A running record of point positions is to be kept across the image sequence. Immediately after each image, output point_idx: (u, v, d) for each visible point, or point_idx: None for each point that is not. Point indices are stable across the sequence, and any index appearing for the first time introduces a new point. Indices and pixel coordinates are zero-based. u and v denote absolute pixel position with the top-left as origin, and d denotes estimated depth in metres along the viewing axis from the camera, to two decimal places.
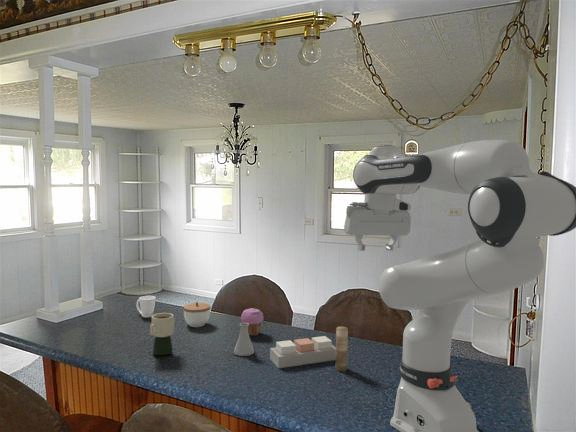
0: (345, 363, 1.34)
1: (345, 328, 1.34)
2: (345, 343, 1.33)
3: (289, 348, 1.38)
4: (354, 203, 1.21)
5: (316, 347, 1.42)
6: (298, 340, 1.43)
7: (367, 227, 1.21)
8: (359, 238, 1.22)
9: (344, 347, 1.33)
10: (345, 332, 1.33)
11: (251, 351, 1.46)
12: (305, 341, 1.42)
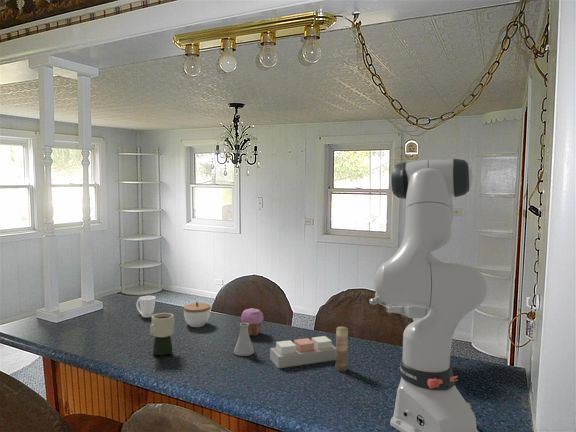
0: (345, 363, 1.34)
1: (345, 328, 1.34)
2: (345, 343, 1.33)
3: (289, 348, 1.38)
4: None
5: (316, 347, 1.42)
6: (298, 340, 1.43)
7: None
8: (377, 296, 1.46)
9: (344, 347, 1.33)
10: (345, 332, 1.33)
11: (251, 351, 1.46)
12: (305, 341, 1.42)
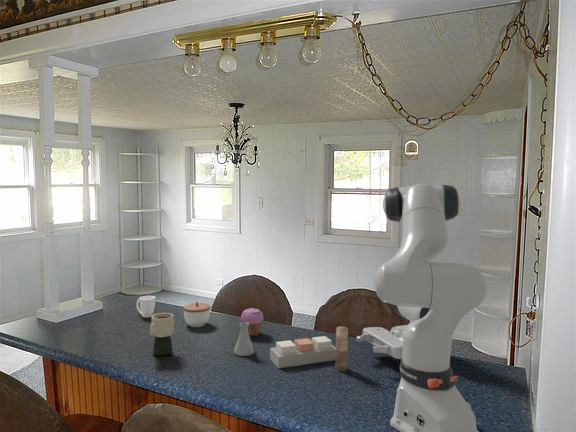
0: (345, 363, 1.34)
1: (345, 328, 1.34)
2: (345, 343, 1.33)
3: (289, 348, 1.38)
4: None
5: (316, 347, 1.42)
6: (298, 340, 1.43)
7: (376, 332, 1.45)
8: (364, 333, 1.45)
9: (344, 347, 1.33)
10: (345, 332, 1.33)
11: (251, 350, 1.46)
12: (305, 341, 1.42)
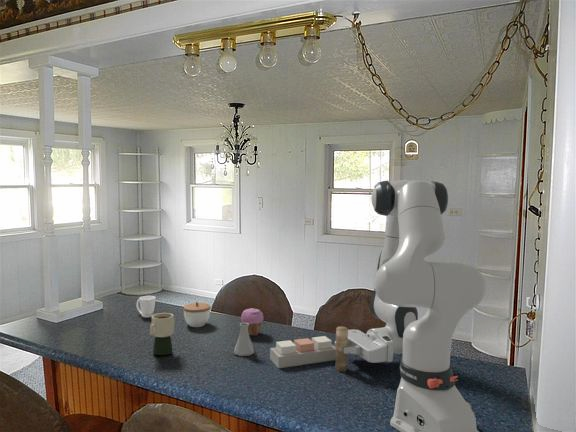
0: (345, 363, 1.34)
1: (345, 328, 1.34)
2: (345, 343, 1.33)
3: (289, 348, 1.38)
4: None
5: (316, 347, 1.42)
6: (298, 340, 1.43)
7: (352, 334, 1.41)
8: None
9: None
10: (345, 332, 1.33)
11: (251, 350, 1.46)
12: (305, 341, 1.42)
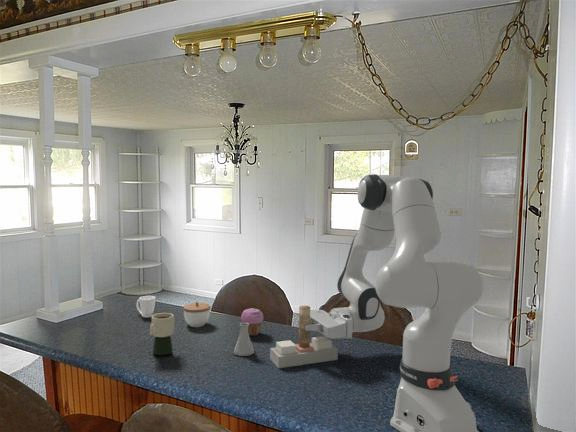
0: (307, 340, 1.41)
1: (307, 307, 1.41)
2: (307, 321, 1.40)
3: (289, 348, 1.38)
4: None
5: (316, 347, 1.42)
6: (298, 345, 1.43)
7: (315, 314, 1.48)
8: None
9: None
10: (307, 310, 1.40)
11: (251, 350, 1.46)
12: None
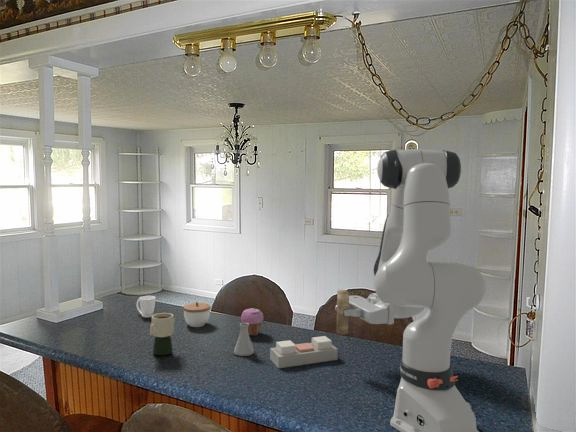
0: (346, 326, 1.33)
1: (346, 291, 1.34)
2: (346, 306, 1.33)
3: (289, 348, 1.38)
4: None
5: (316, 347, 1.42)
6: (298, 345, 1.43)
7: (352, 299, 1.41)
8: None
9: None
10: (346, 295, 1.32)
11: (251, 350, 1.46)
12: (305, 346, 1.43)
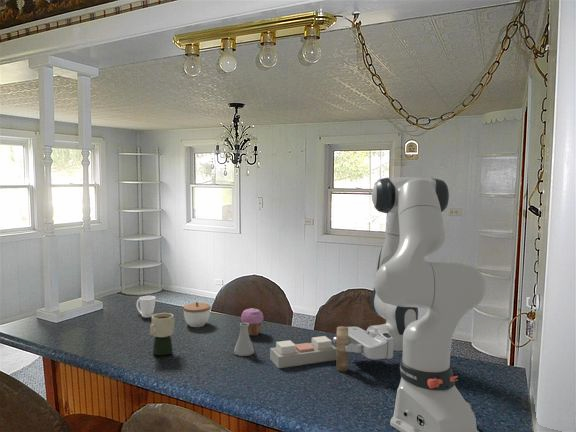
0: (346, 363, 1.34)
1: (345, 328, 1.34)
2: (345, 343, 1.33)
3: (289, 348, 1.38)
4: None
5: (316, 347, 1.42)
6: (298, 345, 1.43)
7: (352, 331, 1.41)
8: None
9: None
10: (345, 332, 1.33)
11: (251, 350, 1.46)
12: (305, 346, 1.43)
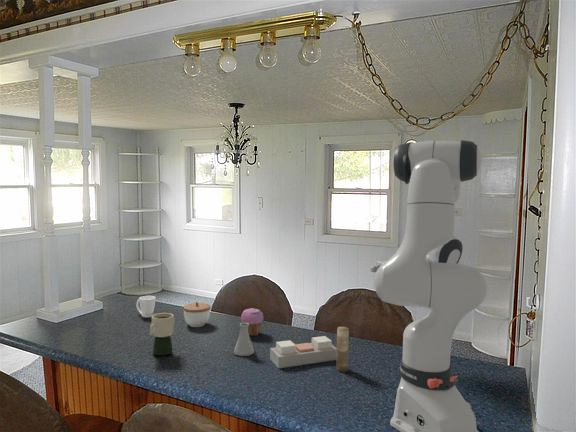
0: (346, 363, 1.34)
1: (346, 328, 1.34)
2: (346, 343, 1.33)
3: (289, 348, 1.38)
4: None
5: (316, 347, 1.42)
6: (298, 345, 1.43)
7: None
8: (378, 264, 1.45)
9: (344, 347, 1.33)
10: (346, 332, 1.33)
11: (251, 350, 1.46)
12: (305, 346, 1.43)
